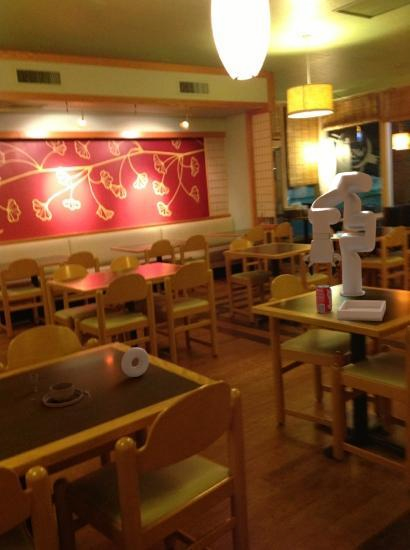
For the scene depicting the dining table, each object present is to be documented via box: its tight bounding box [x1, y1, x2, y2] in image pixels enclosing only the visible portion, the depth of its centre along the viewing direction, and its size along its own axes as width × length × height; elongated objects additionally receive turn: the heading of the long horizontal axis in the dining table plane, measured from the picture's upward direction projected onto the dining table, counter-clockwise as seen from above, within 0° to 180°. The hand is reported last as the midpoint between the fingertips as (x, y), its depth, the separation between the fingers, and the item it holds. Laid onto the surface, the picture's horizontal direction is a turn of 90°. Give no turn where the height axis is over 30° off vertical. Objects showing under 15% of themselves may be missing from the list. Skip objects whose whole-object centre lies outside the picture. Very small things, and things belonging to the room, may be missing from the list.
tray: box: [336, 299, 387, 322], centre depth 233 cm, size 20×18×4 cm
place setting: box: [29, 373, 91, 408], centre depth 165 cm, size 18×20×6 cm
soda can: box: [315, 284, 333, 314], centre depth 242 cm, size 7×7×12 cm
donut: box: [121, 346, 150, 378], centre depth 176 cm, size 10×4×10 cm, turn 127°
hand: (322, 275), depth 240 cm, fingers open, 9 cm apart
